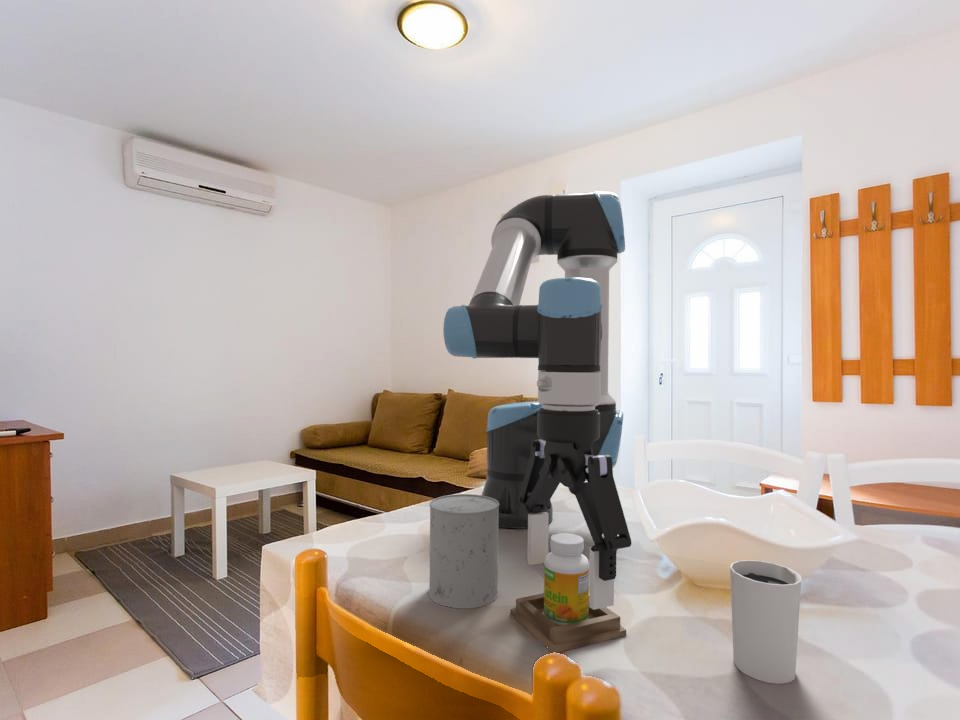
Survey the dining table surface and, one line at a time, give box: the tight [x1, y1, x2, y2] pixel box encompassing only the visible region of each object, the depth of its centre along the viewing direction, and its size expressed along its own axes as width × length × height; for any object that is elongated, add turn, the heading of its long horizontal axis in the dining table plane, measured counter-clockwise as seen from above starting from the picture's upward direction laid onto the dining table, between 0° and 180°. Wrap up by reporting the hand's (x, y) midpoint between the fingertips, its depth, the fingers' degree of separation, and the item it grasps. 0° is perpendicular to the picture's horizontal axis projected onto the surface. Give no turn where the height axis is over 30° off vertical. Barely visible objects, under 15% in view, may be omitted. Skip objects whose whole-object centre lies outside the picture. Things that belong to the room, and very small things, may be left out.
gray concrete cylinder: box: [428, 493, 499, 610], centre depth 73 cm, size 10×10×12 cm
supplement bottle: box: [543, 532, 590, 626], centre depth 65 cm, size 5×5×10 cm
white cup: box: [729, 559, 802, 685], centre depth 56 cm, size 7×7×10 cm
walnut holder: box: [509, 592, 627, 654], centre depth 65 cm, size 10×10×2 cm
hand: (566, 582), depth 65 cm, fingers open, 13 cm apart
